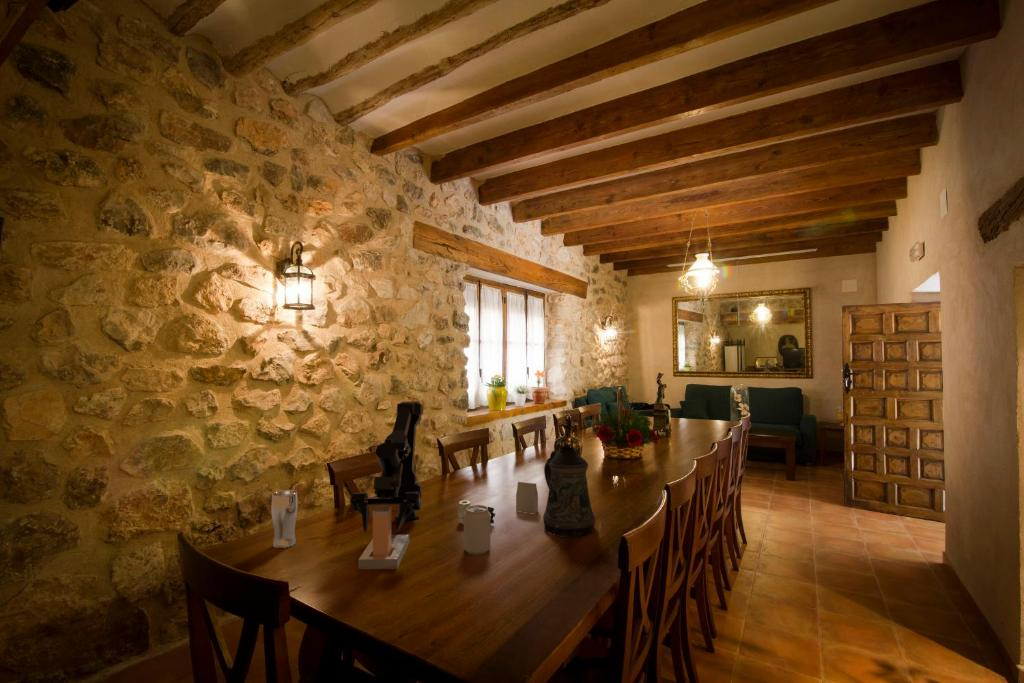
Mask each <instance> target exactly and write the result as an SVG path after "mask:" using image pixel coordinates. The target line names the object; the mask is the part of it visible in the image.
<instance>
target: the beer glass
mask: <svg viewBox="0 0 1024 683" xmlns="http://www.w3.org/2000/svg"><path fill="white" fill-rule="evenodd" d="M298 503H299V501H298V491H297V490H295V489H283V490H277V491H275V492H273V493H272V495H271V519H272V520H271V521H272V524H273V531H274V532H273V533H274V534H273V535H274V536H273V541H272V548H274V547H275V548H274V549H276V548H284V549H288V548H290V546H291V547H293V546H295V545H296V544H295V543H297V540H296V535H295V530H296V529H295V528H296V522H297V516H298V509H299V508H298V507H299V504H298ZM294 544H295V545H294ZM287 547H288V548H287Z"/></svg>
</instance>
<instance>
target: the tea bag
mask: <svg viewBox="0 0 1024 683" xmlns="http://www.w3.org/2000/svg"><path fill="white" fill-rule="evenodd" d="M516 487H517V488H516V492H515V512H516V511H521V512H527V513H526V514H528V513H533V514H532V515H535V514H536V513H537V512H539V491H538V487H537V483H533V482H523V481H517V486H516ZM521 512H520V513H521ZM534 513H535V514H534Z"/></svg>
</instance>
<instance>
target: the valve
mask: <svg viewBox="0 0 1024 683" xmlns="http://www.w3.org/2000/svg"><path fill="white" fill-rule="evenodd" d="M458 504H459V505H458V507H459V508H458V511H457V515H458V517H459V518H458V519H459V520H458V521H459V522H458V523H459V524H460V523H462V524H461V525H464V513H465V512H466V511H467V510H466V508H467V507H469V506H471V505H470V504H471V502H470V501H469V500H461V501H459V502H458ZM487 507H488V511H489V512H490V528H491V527H492V525H491V524H494V523H495V520H494V518H495V516H496V513H495V512H494V511H495V508H494V507H490V506H487Z"/></svg>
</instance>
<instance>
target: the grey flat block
mask: <svg viewBox="0 0 1024 683" xmlns="http://www.w3.org/2000/svg"><path fill="white" fill-rule="evenodd" d="M409 544H410V534H391V556H379V557H373V538H372V539H371V541H370V542H369V544H368V545H367V546H366V548H365V549H364V550H363V552H362V553H361V555H360V556H359V558H358V561H357V562H358V567H357V568H358V570H396V569H398V568H399V567H400V564H401V562H402V560H403V557H404V556H403V555H405V553H406V551H407V549H408V547H409Z"/></svg>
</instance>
